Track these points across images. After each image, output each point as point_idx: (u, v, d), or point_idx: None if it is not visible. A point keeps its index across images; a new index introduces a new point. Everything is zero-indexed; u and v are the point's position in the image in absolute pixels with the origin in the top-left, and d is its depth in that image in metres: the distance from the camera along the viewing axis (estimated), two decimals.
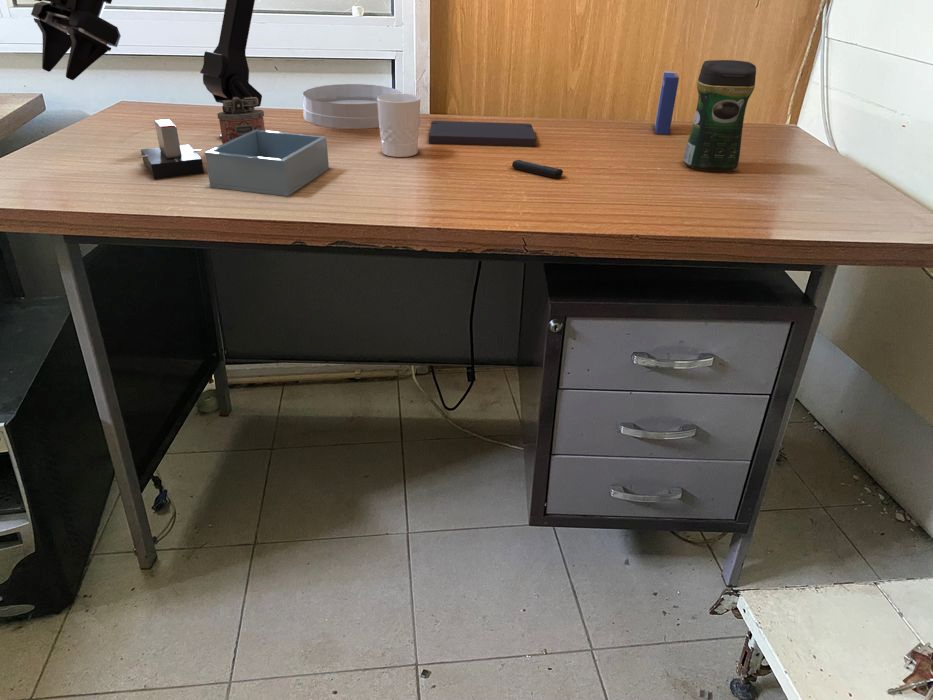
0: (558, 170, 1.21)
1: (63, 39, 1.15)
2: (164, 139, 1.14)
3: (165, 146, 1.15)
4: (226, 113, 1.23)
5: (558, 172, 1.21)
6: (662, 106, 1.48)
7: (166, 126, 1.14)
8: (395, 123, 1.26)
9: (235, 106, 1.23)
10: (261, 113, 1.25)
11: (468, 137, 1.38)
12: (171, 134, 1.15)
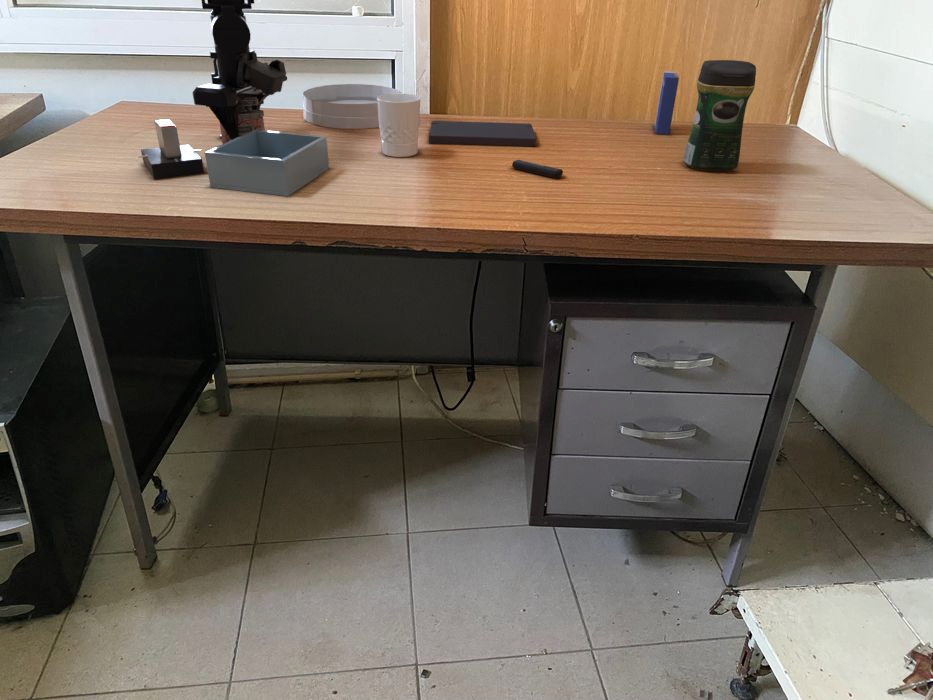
0: (558, 170, 1.21)
1: None
2: (164, 139, 1.14)
3: (165, 146, 1.15)
4: None
5: (558, 173, 1.21)
6: (662, 106, 1.48)
7: (166, 126, 1.14)
8: (395, 123, 1.26)
9: None
10: (261, 113, 1.25)
11: (468, 137, 1.38)
12: (171, 134, 1.15)
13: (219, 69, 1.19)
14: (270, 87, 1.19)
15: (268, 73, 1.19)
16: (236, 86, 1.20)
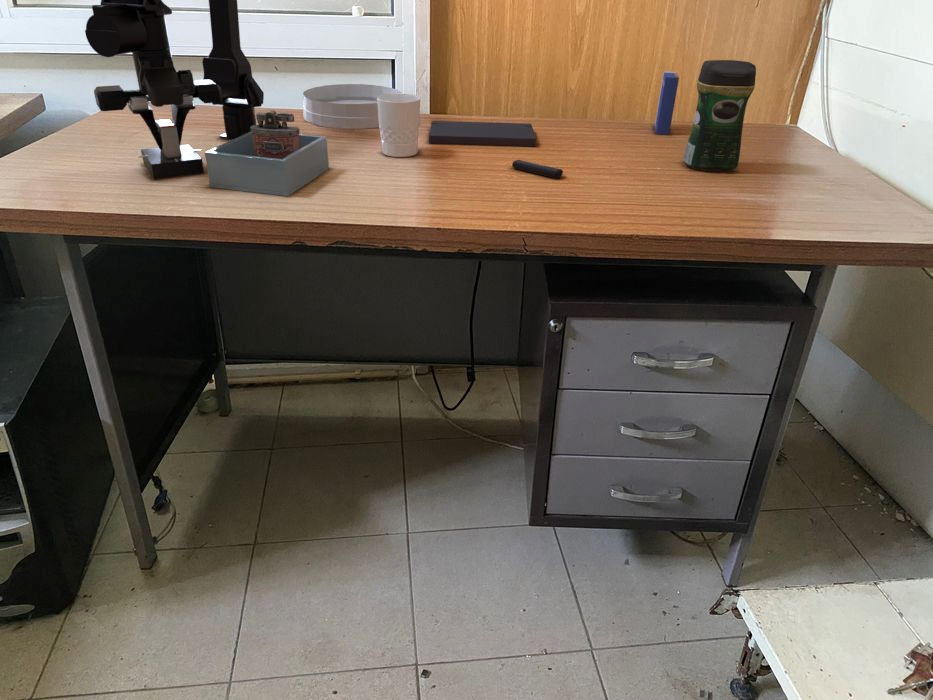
0: (558, 170, 1.21)
1: None
2: (164, 139, 1.14)
3: (165, 146, 1.15)
4: (258, 126, 1.14)
5: (558, 173, 1.21)
6: (662, 106, 1.48)
7: (166, 126, 1.14)
8: (395, 123, 1.26)
9: (266, 120, 1.13)
10: (292, 131, 1.13)
11: (468, 137, 1.38)
12: (171, 134, 1.15)
13: None
14: (153, 98, 1.07)
15: (155, 82, 1.06)
16: None
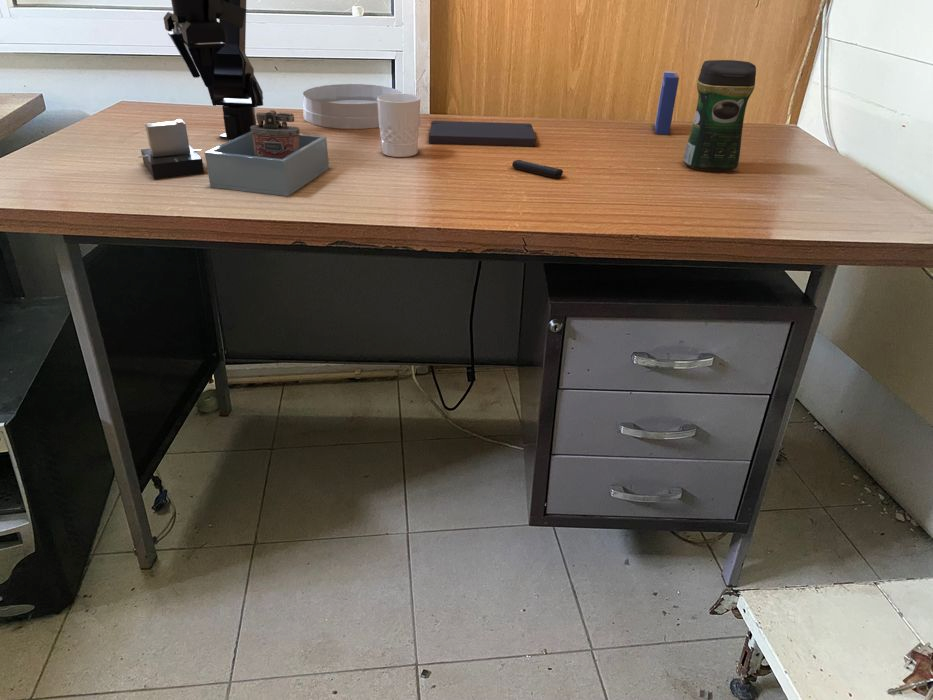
0: (558, 170, 1.21)
1: None
2: None
3: (188, 141, 1.18)
4: (258, 126, 1.14)
5: (558, 173, 1.21)
6: (662, 106, 1.48)
7: None
8: (395, 123, 1.26)
9: (266, 120, 1.13)
10: (292, 131, 1.13)
11: (468, 137, 1.38)
12: None
13: (184, 6, 1.11)
14: (243, 20, 1.16)
15: None
16: None
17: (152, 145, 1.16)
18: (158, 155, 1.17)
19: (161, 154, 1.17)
